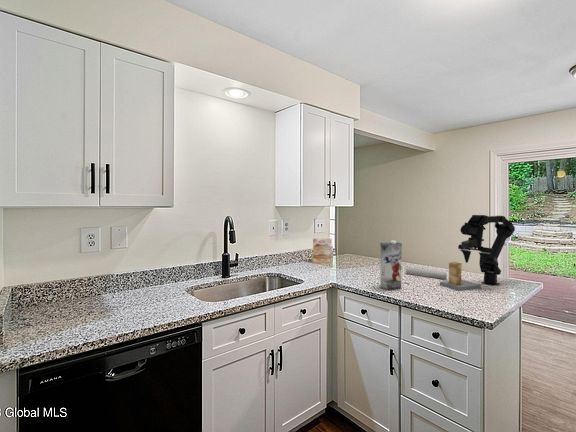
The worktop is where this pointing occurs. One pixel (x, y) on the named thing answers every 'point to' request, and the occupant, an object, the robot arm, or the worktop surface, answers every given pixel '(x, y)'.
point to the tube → (426, 273)
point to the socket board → (464, 285)
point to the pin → (455, 273)
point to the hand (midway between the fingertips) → (473, 263)
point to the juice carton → (390, 265)
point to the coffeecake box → (322, 250)
